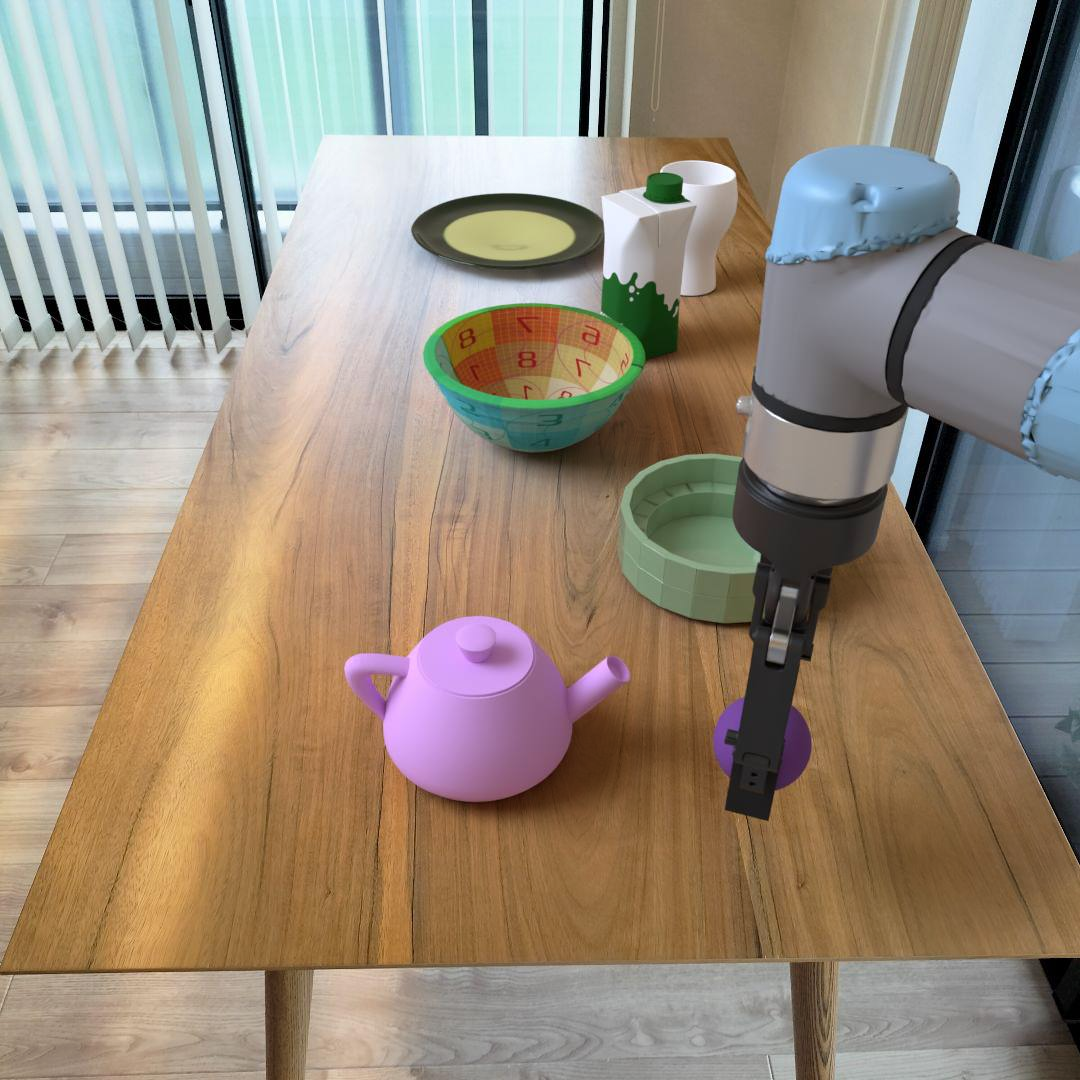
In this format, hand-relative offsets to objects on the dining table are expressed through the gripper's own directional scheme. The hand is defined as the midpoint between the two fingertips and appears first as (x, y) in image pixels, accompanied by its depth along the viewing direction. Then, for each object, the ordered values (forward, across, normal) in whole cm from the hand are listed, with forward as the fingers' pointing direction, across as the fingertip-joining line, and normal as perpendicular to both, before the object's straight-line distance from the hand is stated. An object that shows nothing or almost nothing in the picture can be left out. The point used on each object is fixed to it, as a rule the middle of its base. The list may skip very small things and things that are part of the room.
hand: (755, 771), depth 69 cm
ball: (0, 0, 0) cm, 0 cm away
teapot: (+7, -3, -19) cm, 21 cm away
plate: (+7, -93, -49) cm, 106 cm away
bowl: (+7, -45, -30) cm, 54 cm away
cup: (+7, -88, -22) cm, 91 cm away
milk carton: (+7, -68, -24) cm, 73 cm away
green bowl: (+7, -30, -8) cm, 31 cm away
